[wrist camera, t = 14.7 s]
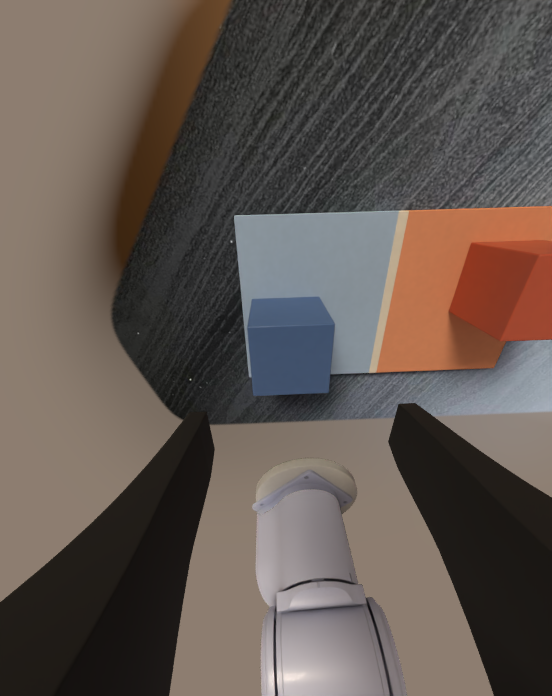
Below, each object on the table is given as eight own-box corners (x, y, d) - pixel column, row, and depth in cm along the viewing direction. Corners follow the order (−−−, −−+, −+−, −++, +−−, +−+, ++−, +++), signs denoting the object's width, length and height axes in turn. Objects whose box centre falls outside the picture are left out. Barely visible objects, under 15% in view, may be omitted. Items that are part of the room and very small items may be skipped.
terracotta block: (447, 311, 17) (499, 342, 13) (470, 242, 15) (540, 254, 11) (511, 309, 17) (581, 338, 13) (543, 239, 15) (637, 251, 11)
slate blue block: (255, 356, 18) (253, 396, 15) (251, 298, 16) (246, 327, 12) (316, 354, 19) (328, 393, 15) (319, 296, 16) (335, 323, 13)
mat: (249, 373, 20) (249, 378, 19) (234, 215, 14) (233, 215, 14) (489, 364, 20) (494, 368, 20) (562, 205, 15) (571, 205, 14)
